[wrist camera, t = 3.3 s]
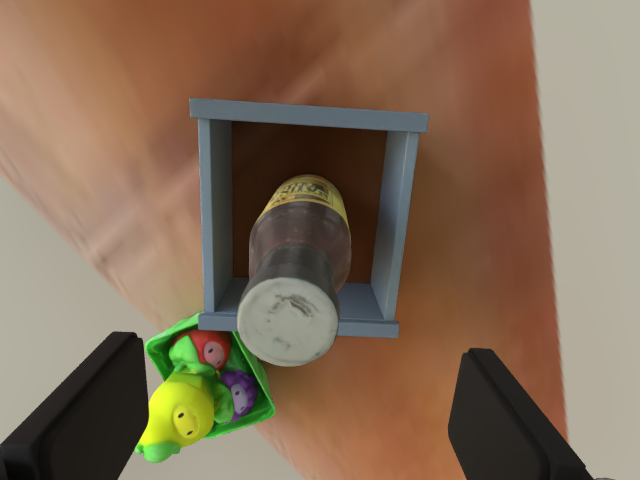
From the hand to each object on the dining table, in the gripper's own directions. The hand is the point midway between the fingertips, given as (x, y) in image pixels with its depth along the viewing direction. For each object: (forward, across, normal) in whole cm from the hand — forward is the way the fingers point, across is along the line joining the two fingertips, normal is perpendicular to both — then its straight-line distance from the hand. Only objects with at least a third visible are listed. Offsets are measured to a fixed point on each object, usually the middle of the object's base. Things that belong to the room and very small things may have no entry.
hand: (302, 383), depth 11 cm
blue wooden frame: (+23, 0, 0) cm, 23 cm away
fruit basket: (+24, +8, +15) cm, 29 cm away
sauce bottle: (+24, 0, 0) cm, 24 cm away
